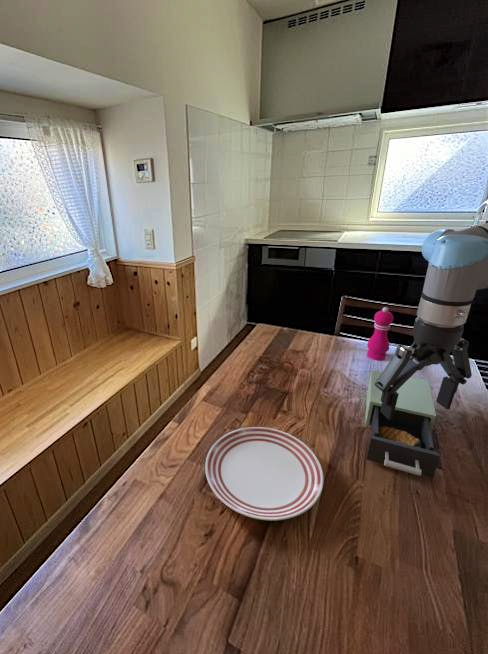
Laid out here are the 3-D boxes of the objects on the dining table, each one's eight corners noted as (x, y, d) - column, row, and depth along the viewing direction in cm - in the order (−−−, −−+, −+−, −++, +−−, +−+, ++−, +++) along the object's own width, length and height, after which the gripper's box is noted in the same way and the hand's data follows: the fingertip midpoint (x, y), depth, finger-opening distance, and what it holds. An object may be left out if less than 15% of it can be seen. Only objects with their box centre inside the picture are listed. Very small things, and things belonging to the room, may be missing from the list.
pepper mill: (370, 349, 132) (379, 302, 123) (390, 355, 126) (401, 307, 118) (361, 356, 127) (370, 307, 119) (382, 363, 122) (392, 313, 114)
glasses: (293, 373, 120) (294, 361, 118) (281, 393, 110) (282, 380, 108) (259, 364, 127) (259, 352, 125) (244, 382, 117) (244, 369, 115)
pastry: (370, 438, 87) (373, 427, 86) (383, 427, 91) (386, 416, 89) (409, 461, 80) (412, 449, 79) (422, 448, 84) (425, 436, 82)
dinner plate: (182, 472, 84) (182, 462, 82) (254, 420, 99) (254, 411, 98) (273, 559, 64) (274, 548, 63) (344, 477, 80) (346, 467, 78)
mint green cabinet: (428, 442, 88) (436, 416, 84) (364, 426, 94) (370, 401, 91) (421, 404, 101) (428, 380, 98) (366, 392, 108) (371, 369, 104)
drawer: (435, 493, 74) (443, 470, 71) (365, 472, 80) (370, 450, 77) (425, 433, 89) (431, 413, 86) (368, 419, 95) (372, 400, 92)
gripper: (394, 337, 58) (373, 432, 67) (517, 320, 61) (481, 412, 70) (366, 320, 65) (350, 408, 73) (478, 305, 68) (450, 391, 77)
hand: (414, 410), depth 72 cm, fingers open, 13 cm apart
